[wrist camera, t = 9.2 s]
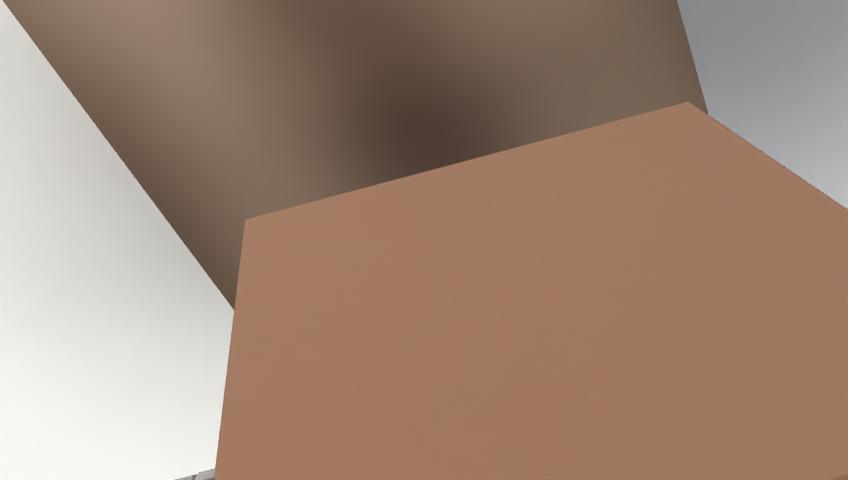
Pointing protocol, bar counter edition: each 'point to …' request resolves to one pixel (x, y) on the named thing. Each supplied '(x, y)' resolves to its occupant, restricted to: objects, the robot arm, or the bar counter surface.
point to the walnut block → (343, 91)
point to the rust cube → (549, 319)
